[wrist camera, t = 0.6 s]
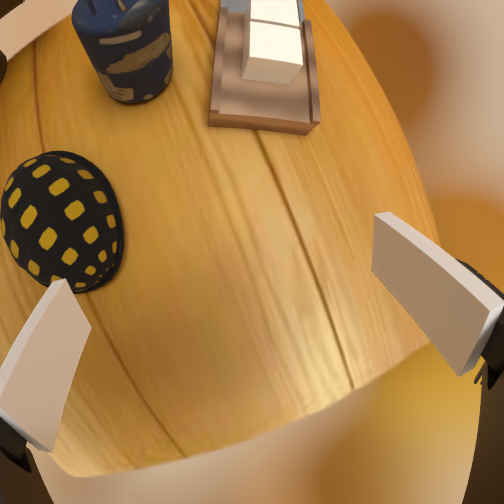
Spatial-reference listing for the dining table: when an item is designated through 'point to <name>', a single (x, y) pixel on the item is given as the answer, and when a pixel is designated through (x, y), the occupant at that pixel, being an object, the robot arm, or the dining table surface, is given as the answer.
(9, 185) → the yellow spotted black dome
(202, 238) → the dining table surface
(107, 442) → the dining table surface
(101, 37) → the canister
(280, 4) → the block
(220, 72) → the board
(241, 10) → the tray
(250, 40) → the block
